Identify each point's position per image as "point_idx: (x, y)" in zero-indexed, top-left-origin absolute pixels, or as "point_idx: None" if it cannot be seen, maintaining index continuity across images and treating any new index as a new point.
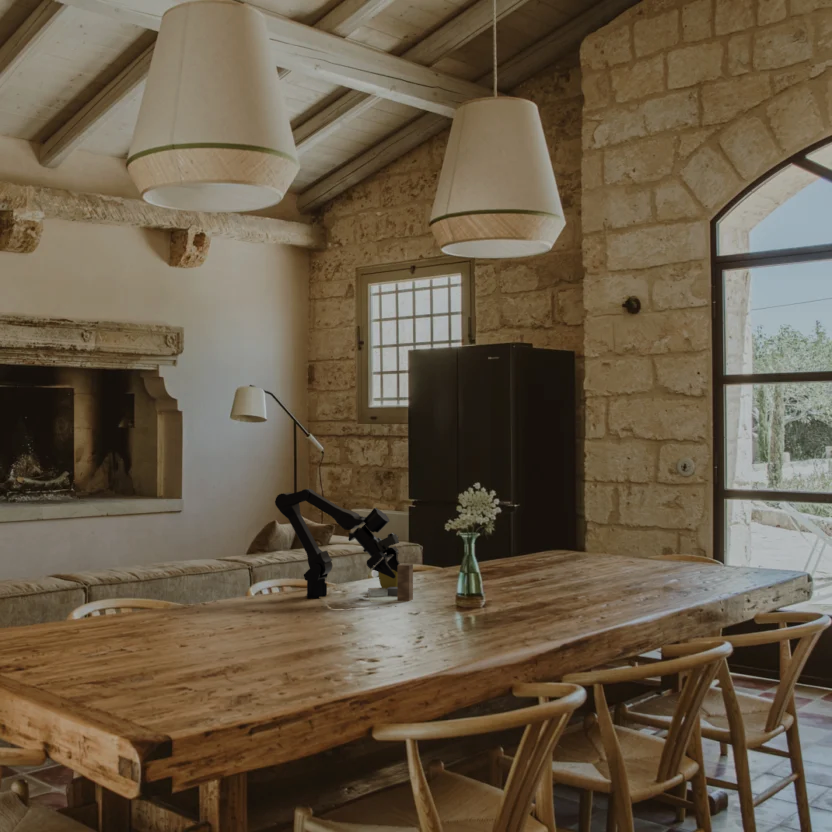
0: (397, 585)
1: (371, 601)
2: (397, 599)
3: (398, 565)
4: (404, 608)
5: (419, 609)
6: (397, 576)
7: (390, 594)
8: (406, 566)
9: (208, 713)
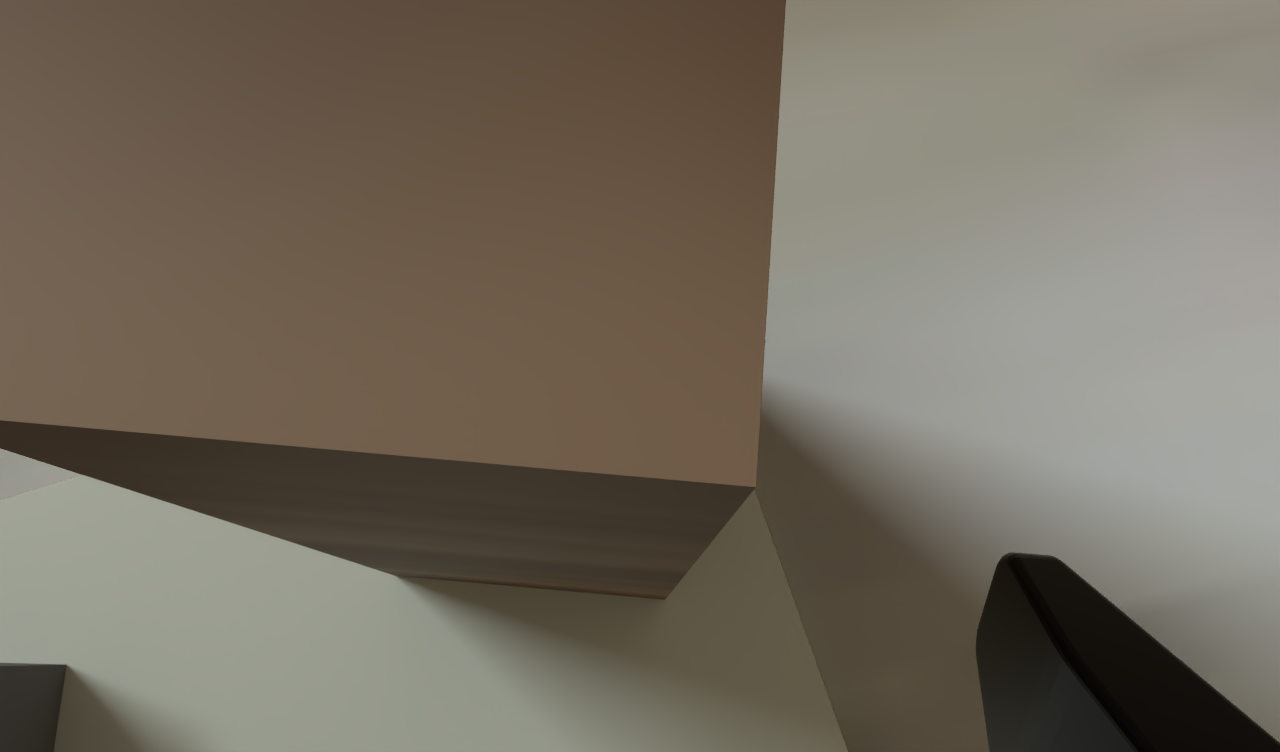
0: (679, 578)
1: None
2: (666, 597)
3: (748, 419)
4: (1268, 317)
5: (1269, 48)
6: (701, 554)
7: None
8: None
9: None
